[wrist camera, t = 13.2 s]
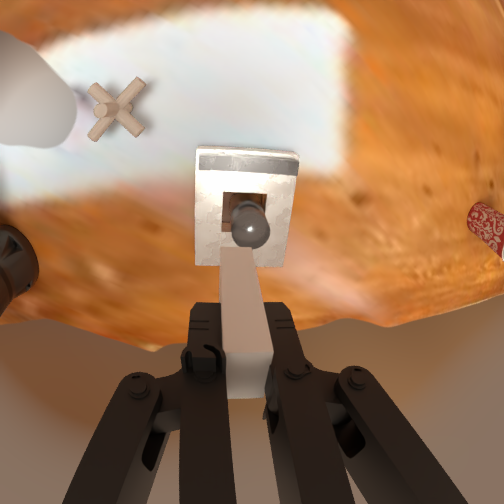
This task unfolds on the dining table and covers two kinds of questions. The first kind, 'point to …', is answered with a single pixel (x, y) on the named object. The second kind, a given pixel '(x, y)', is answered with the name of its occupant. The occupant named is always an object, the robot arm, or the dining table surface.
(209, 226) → the block
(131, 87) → the tan toy jack
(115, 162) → the dining table surface
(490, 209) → the mug
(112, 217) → the dining table surface
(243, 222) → the dark steel cylinder
